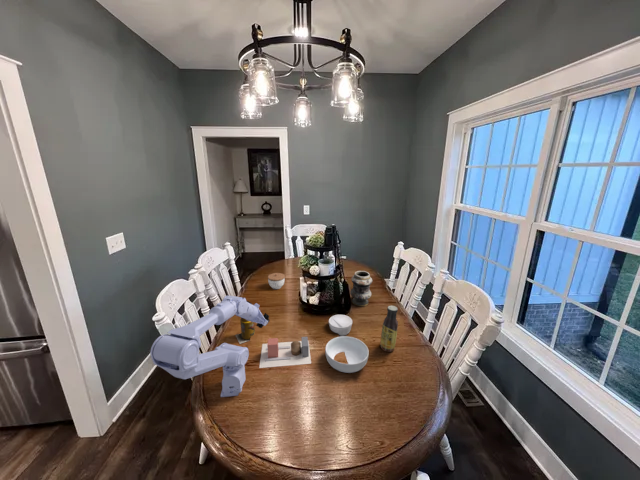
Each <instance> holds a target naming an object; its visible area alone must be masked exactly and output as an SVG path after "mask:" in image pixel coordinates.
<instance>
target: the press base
mask: <svg viewBox="0 0 640 480" xmlns="http://www.w3.org/2000/svg"><path fill="white" fill-rule="evenodd" d="M308 339H309V338H308V336H301V340H298V341H299V342H300V343H301V353H300V355H298V356H294V355H292V354H291V343H292V342H293V341H285V342H283V341H282V342H278V357H272V358H268V347H267V344H268V343H262V344H261V353H260V358H259V359H260V360H259V366H258V367H259V369H264V368H265V369H266V368H275V367H276V368H277V367H286V366H287V367H288V366H298V365H300V366H301V365H310V364H312V360H311V359H312V356H311V351H310V341H309V340H308Z"/></svg>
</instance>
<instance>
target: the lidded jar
mask: <svg viewBox="0 0 640 480" xmlns="http://www.w3.org/2000/svg"><path fill="white" fill-rule="evenodd" d="M285 279H286V276H285V273H281V272H273V273H270V274H268V276H267V281H268V284H269V286H270V287H271V288H272V289H273V290H279V289H281V288H282V287H283V286H284V284H285Z"/></svg>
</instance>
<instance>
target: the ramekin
mask: <svg viewBox="0 0 640 480" xmlns="http://www.w3.org/2000/svg"><path fill="white" fill-rule="evenodd" d="M328 325H329V329H330V330H331V331H332V332H333V333H335V334H338V337H341V336H347V335H348V334H349V333H350V332H351V329H352V325H353V319H352V318H351V317H350V316H348V315H345V314H335V315H332V316H331V317H330V318H329V319H328Z"/></svg>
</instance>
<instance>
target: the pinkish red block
mask: <svg viewBox="0 0 640 480" xmlns="http://www.w3.org/2000/svg"><path fill="white" fill-rule="evenodd" d="M278 343H279V338H278V337H274V338H271V337H270V338H267V343H266V344H267V347H268V358H272V357H278Z"/></svg>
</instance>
